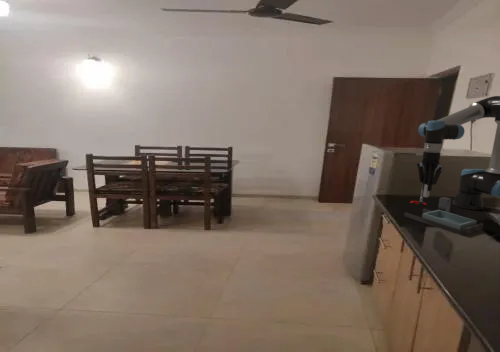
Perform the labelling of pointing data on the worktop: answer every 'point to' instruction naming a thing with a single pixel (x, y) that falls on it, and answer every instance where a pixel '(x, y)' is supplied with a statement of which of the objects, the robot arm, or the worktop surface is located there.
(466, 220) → the crate
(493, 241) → the worktop surface
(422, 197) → the tow hook
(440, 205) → the dark grey block
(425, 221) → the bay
